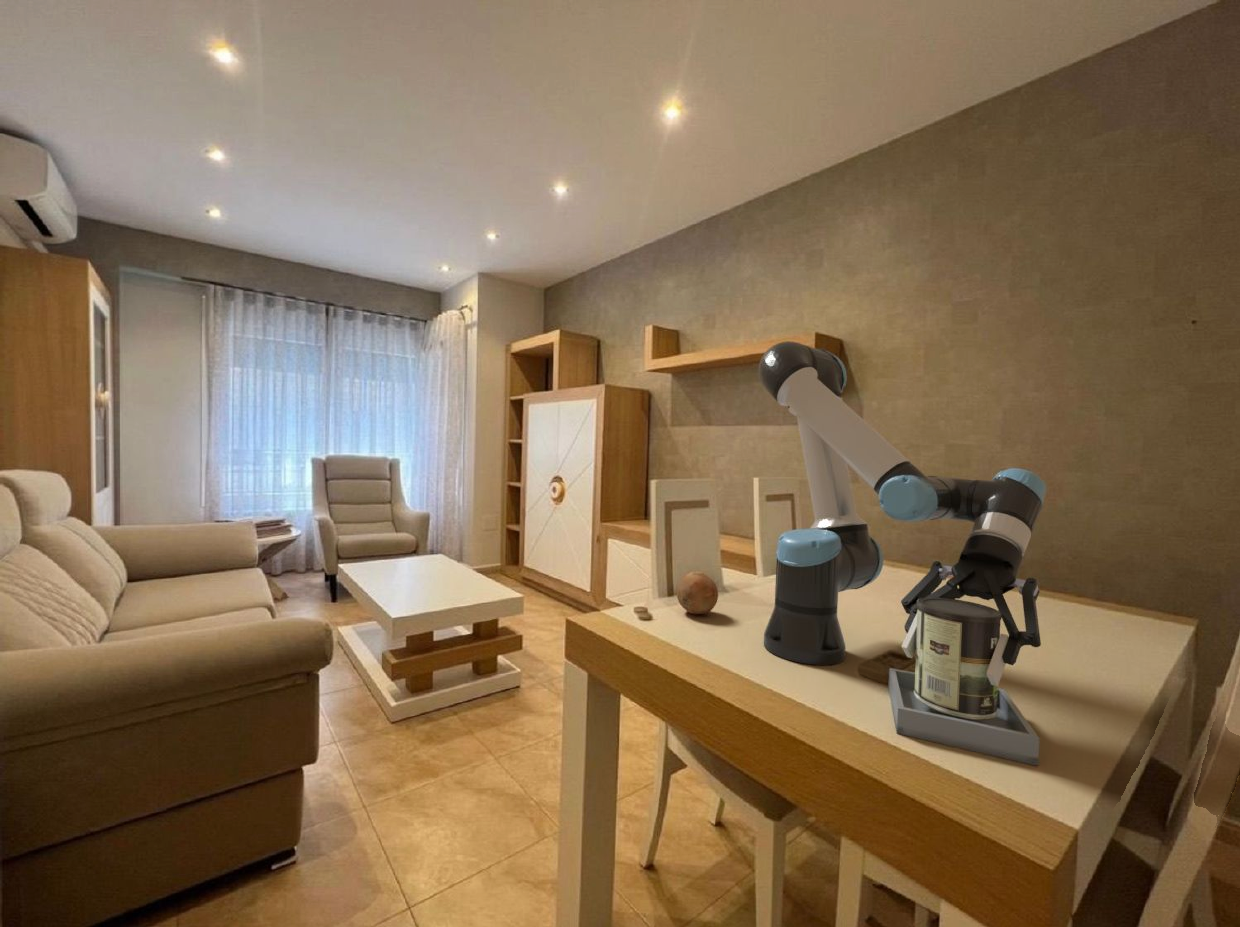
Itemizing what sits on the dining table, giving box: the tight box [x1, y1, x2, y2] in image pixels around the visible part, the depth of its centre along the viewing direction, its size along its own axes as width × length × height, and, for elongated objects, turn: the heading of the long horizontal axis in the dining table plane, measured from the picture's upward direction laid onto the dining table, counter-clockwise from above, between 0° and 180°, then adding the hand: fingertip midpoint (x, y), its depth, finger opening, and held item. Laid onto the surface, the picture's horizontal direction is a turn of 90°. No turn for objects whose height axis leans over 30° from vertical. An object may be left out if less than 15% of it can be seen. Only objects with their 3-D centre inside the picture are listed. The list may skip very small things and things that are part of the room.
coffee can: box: [914, 597, 1002, 720], centre depth 74 cm, size 10×10×14 cm
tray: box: [887, 667, 1040, 767], centre depth 74 cm, size 16×16×4 cm
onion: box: [676, 571, 719, 615], centre depth 121 cm, size 10×10×10 cm
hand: (946, 665), depth 72 cm, fingers open, 10 cm apart
